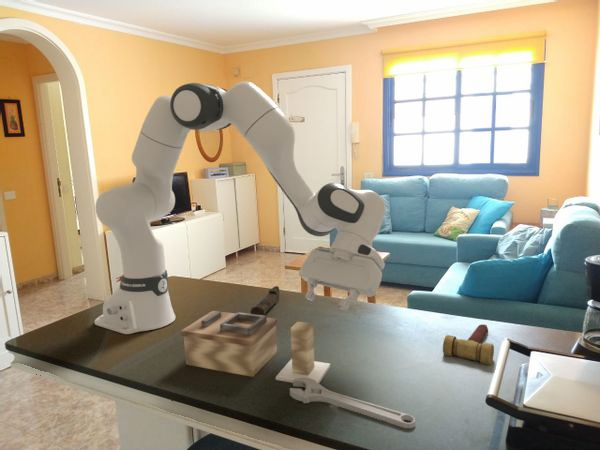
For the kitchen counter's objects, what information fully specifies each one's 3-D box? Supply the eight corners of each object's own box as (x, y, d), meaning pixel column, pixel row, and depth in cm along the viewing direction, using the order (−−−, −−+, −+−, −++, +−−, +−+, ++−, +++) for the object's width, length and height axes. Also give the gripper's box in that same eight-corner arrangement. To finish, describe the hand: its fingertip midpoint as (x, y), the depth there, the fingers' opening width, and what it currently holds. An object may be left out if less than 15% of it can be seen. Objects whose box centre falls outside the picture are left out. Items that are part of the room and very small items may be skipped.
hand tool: (263, 321, 124) (262, 305, 123) (250, 319, 125) (249, 304, 124) (287, 299, 142) (286, 285, 141) (275, 298, 143) (274, 284, 142)
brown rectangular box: (184, 365, 100) (180, 324, 98) (214, 341, 111) (212, 304, 109) (253, 377, 93) (251, 334, 91) (278, 351, 105) (277, 312, 103)
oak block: (292, 372, 93) (290, 327, 92) (299, 364, 97) (297, 321, 95) (308, 375, 92) (306, 330, 90) (314, 367, 95) (313, 323, 94)
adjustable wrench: (417, 425, 77) (417, 415, 76) (402, 445, 72) (402, 436, 71) (301, 382, 92) (301, 374, 91) (282, 396, 87) (281, 388, 86)
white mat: (275, 379, 92) (275, 376, 92) (292, 360, 100) (292, 357, 100) (316, 387, 89) (316, 384, 89) (330, 366, 97) (330, 363, 97)
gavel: (465, 313, 117) (506, 320, 111) (464, 330, 117) (506, 338, 112) (442, 338, 99) (490, 348, 94) (442, 357, 100) (489, 368, 94)
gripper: (308, 239, 110) (284, 288, 104) (381, 251, 97) (357, 307, 91) (320, 252, 114) (297, 300, 109) (391, 265, 101) (369, 320, 96)
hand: (325, 303), depth 100 cm, fingers open, 8 cm apart
